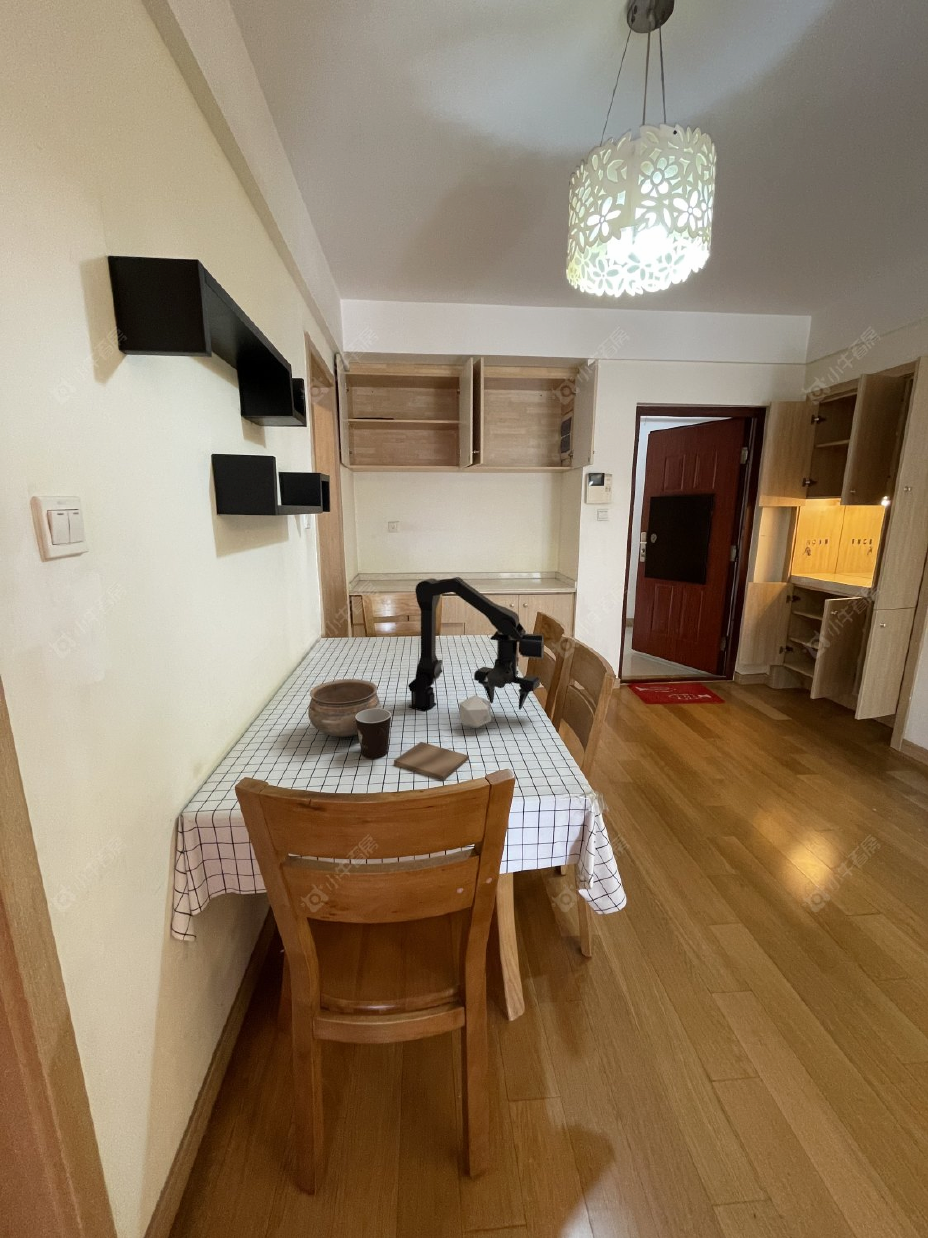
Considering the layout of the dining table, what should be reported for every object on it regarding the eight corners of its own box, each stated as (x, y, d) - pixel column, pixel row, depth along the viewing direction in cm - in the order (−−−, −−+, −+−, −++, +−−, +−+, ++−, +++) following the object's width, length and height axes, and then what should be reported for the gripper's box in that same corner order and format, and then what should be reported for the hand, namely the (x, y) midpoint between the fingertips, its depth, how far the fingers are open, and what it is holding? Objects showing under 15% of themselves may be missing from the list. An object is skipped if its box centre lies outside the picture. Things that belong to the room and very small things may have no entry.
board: (394, 765, 115) (394, 760, 114) (421, 746, 124) (420, 741, 124) (443, 781, 108) (443, 776, 107) (468, 760, 117) (468, 755, 117)
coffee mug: (359, 745, 124) (357, 709, 122) (393, 744, 125) (392, 707, 123) (353, 768, 113) (351, 729, 111) (390, 767, 114) (389, 727, 111)
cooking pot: (332, 712, 145) (329, 673, 142) (393, 716, 142) (391, 676, 139) (291, 752, 121) (287, 706, 118) (363, 757, 118) (361, 711, 115)
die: (488, 737, 129) (489, 702, 127) (456, 734, 131) (456, 699, 128) (493, 723, 137) (493, 690, 135) (462, 721, 139) (462, 688, 137)
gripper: (464, 657, 136) (464, 709, 140) (526, 668, 127) (524, 723, 131) (483, 648, 146) (482, 696, 149) (541, 657, 137) (539, 709, 140)
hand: (505, 706), depth 142 cm, fingers open, 9 cm apart
